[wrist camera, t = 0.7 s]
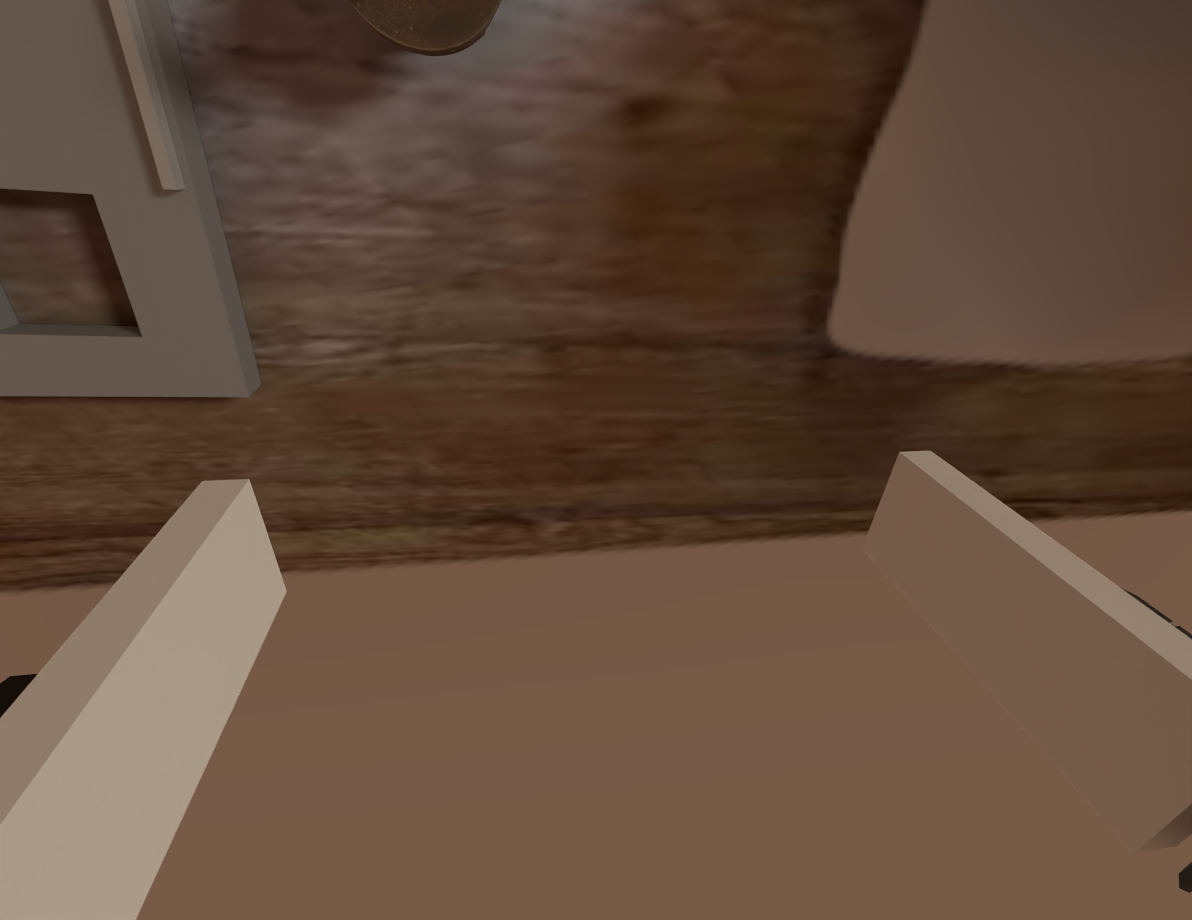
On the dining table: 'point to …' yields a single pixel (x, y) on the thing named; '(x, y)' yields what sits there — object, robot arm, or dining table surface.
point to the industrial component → (429, 22)
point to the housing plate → (120, 203)
